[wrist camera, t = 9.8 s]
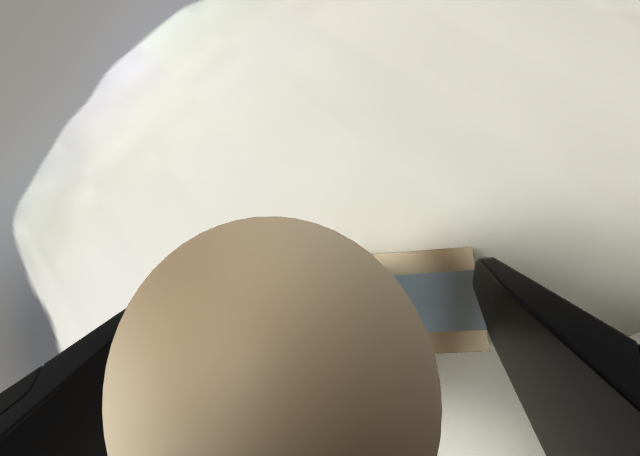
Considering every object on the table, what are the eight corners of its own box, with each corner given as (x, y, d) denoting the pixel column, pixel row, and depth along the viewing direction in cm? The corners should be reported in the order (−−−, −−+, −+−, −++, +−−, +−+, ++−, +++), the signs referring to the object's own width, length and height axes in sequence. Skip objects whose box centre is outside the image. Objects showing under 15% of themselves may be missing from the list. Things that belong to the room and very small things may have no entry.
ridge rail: (458, 251, 20) (488, 239, 16) (474, 343, 19) (511, 361, 14) (239, 269, 23) (204, 263, 18) (239, 353, 21) (202, 371, 16)
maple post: (352, 363, 15) (300, 711, 3) (291, 317, 16) (42, 422, 4) (393, 298, 16) (515, 344, 3) (331, 256, 17) (228, 162, 4)
